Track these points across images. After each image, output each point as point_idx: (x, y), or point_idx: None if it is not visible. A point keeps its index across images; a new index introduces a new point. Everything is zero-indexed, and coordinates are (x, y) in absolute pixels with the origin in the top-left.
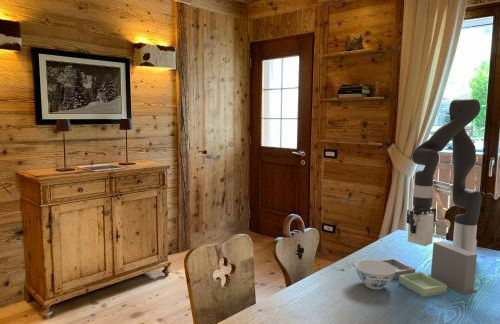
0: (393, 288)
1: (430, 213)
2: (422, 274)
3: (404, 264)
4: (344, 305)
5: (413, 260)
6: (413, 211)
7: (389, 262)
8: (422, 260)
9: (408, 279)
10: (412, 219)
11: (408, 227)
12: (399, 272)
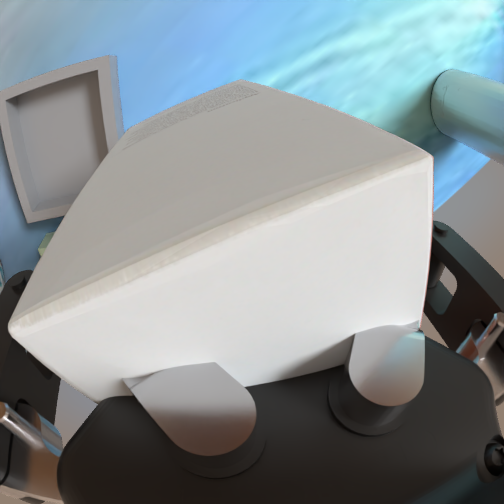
0: (20, 267)
1: (475, 301)
2: None
3: (110, 145)
4: None
5: (262, 29)
6: (57, 486)
7: (77, 75)
8: (306, 44)
9: None
10: (52, 384)
11: (95, 171)
12: (51, 216)
